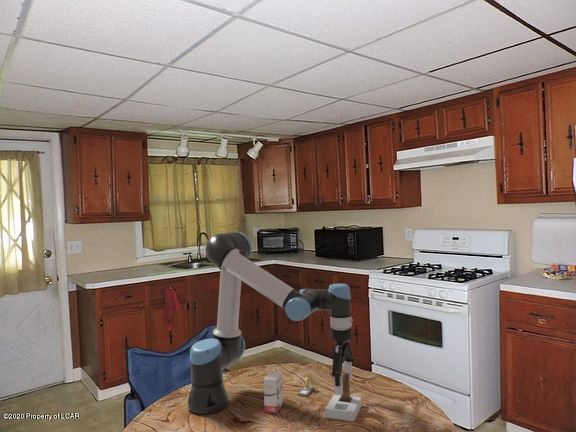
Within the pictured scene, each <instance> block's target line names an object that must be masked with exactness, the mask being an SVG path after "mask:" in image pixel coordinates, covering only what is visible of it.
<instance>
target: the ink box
mask: <svg viewBox="0 0 576 432" xmlns="http://www.w3.org/2000/svg"><path fill="white" fill-rule="evenodd" d="M263 397H264V398H263V399H264V400H263V403H264V405H263V406H264V408H263V409H264V413H268V414H269V413H270V414H272V413H273V414H278V412H279V410H280V409H281V407H282V406H283V403H284V390H283V372H282V371H276V370H275V371H274V370H273V371H272V370H270V371H269V372H268V373H267V375H265V377H264V379H263Z"/></svg>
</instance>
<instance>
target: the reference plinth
mask: <svg viewBox="0 0 576 432" xmlns="http://www.w3.org/2000/svg"><path fill="white" fill-rule="evenodd" d="M314 388H315V386H311V385H310V377H308V376H306V377H304V385H303V387H302V388H301V389H300V390H299V391H298V392H297V396H301V397H308V396H309V395H310V394H311V393H312V391H313V390H314Z"/></svg>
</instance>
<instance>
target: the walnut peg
mask: <svg viewBox="0 0 576 432" xmlns="http://www.w3.org/2000/svg"><path fill="white" fill-rule="evenodd" d="M341 376H342V384H343V395H341V402H349V403H350V396H351V390H350V389H351V388H350V387H351V386H350V380H349V373H345V372H341Z"/></svg>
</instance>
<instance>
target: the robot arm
mask: <svg viewBox="0 0 576 432" xmlns="http://www.w3.org/2000/svg"><path fill="white" fill-rule="evenodd" d="M252 253H253V244H252V241H251V239H250V238H249V237H248V235H246V234H245V233H243V232H241V231H231V232H224V233H216V234H214V235H212V236H211V237H210V238H209V239H208V240H207V242H206V245H205V254H206V257H207V259H208V261H209V262H210V263H211V264H212V265H213V266H215V267H216V268H218V269H219V271H220V274H219V275H220V276H219V289H218V291H219V292H218V303H217V304H218V306H217V319H216V327H215V328H214V329H213V330H212V338H205V339H202V340H201V339H200V340H199V341H197V342H195V343H194V344H193V345H192V346H191V348H190V350H189V353H190V354H189V362H190V381H191V388H190V392H189V396H188V400H187V410H188V409H189V410H190V411H191V412H190V411H189V410H188V411H189V412H190V413H192V412H193V413H192V414H194V413H197V414H196V415H210V414H211V415H212V414H214V413H218V412H221V411H223V410H224V409H226V408H227V407H228V406H229V404H230V403H229V401H230V399H229V394H228V392H227V389H226V387H225V384H224V379H223V378H224V377H223V370H225V369H226V368H228V367H230V366H231V365H232V364H235V363H236V362H237V361H239V360H240V359H241V358H242V356H243V355H244V353H245V351H246V350H245V349H246V342H245V339H244V338H243V336H242V331H241V330H240V328H239V320H240V318H239V317H240V305H241V291H242V282H244V284H246V285H248V286H250V287H251V288H253V289H254V290H256V291H257V292H258V293H260V294H261V295H263V296H264V297H266V298H267V299H269V300H270V301H271V302H273V303H274V304H276V305H278V306H280V307H281V308H282V309H284V311H285V314H286V316H287V318H289V320H291V321H294V322H299V321H302V320H305V319H306V318H308V317H309V316H310V315H311V314H313V313H315V312H316V311H329V315H330V316H329V320H330V337H331V339H332V340H333V341H335V342H336V344H335V345H334V346H333V356H332V358H333V359H332V365H331V366H332V369H331V374H330V376H331V377H333V383H334V385H333V387H334V394H335V395H343V384H342V376H341V373H344V372H345V373H349V381H352V380H353V368H352V367H353V366H352V365H353V364H352V362H354V361H355V360H354V358H353V357H354V355H353V350H352V344H351V340H352V339H353V329H352V326H353V325H352V322H354V319H353V318H352V303H351V302H352V295H351V290H350V286H349V285H348V284H347V283H332V284H330V285H329V286H328V289H321V288H320V289H319V288H317V289H316V288H315V289H314V288H302V289H299V291H298V290H296V289H295V288H293V287H291V286H290V285H288V284H287V283H285V282H284V281H282V280H281V279H279V278H277V277H276V276H274V275H273V274H271V273H270V272H269V271H267V270H265V269H263V268H262V267H261V266H259V265H257V264H256V263H255V262H253V261H251V260H250V259H249V257H250V256H251V254H252ZM343 369H344V372H342V371H343Z"/></svg>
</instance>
